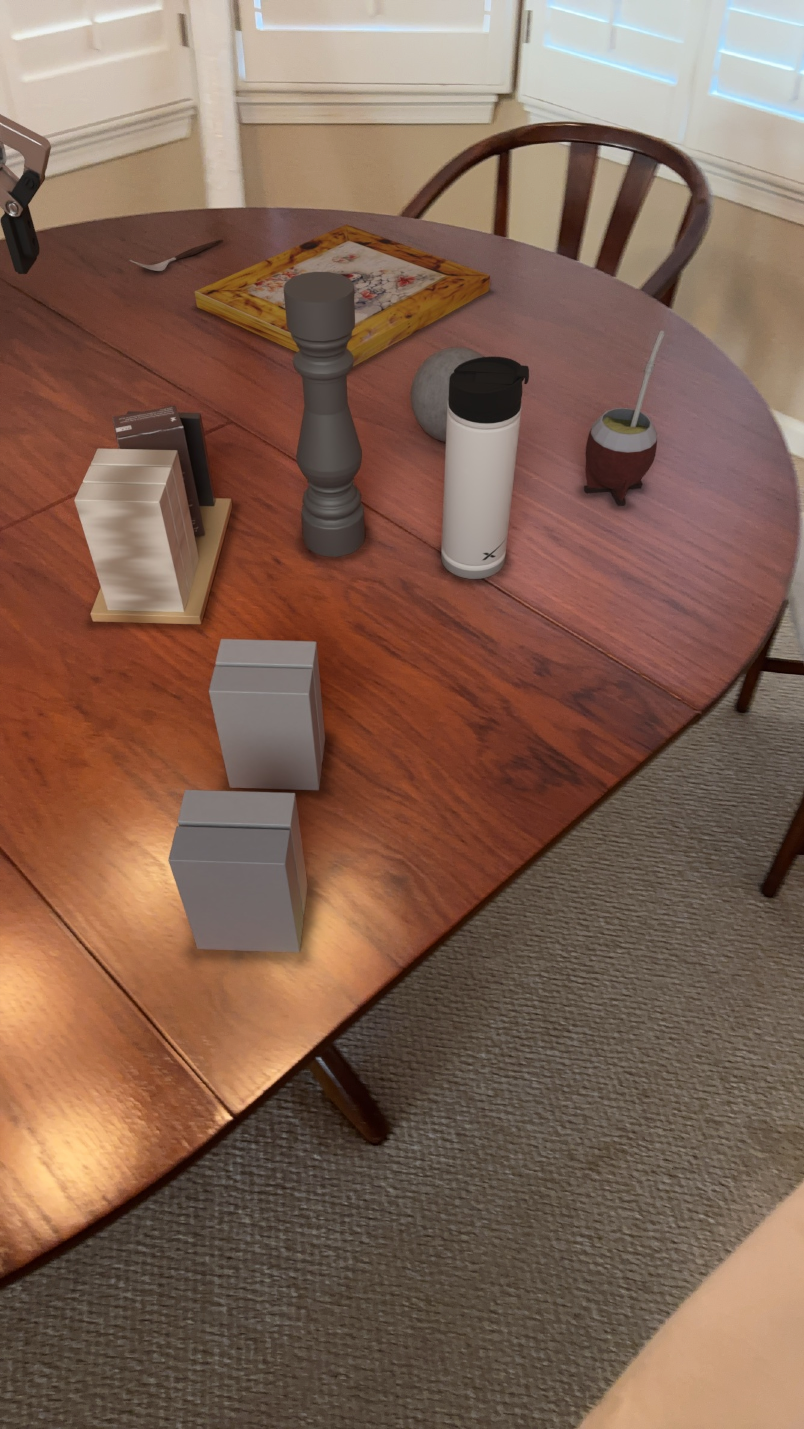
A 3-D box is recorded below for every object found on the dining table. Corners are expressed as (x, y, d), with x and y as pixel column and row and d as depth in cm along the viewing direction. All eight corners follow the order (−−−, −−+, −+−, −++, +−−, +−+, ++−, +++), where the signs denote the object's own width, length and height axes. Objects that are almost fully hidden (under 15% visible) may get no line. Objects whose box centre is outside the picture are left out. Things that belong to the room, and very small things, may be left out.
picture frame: (490, 275, 130) (341, 355, 115) (488, 290, 132) (342, 372, 116) (346, 224, 142) (194, 291, 126) (347, 239, 143) (197, 307, 128)
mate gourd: (590, 511, 97) (615, 375, 86) (569, 468, 103) (590, 335, 91) (659, 504, 98) (693, 369, 87) (635, 462, 103) (664, 329, 92)
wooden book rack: (92, 621, 86) (53, 503, 76) (136, 503, 98) (108, 388, 88) (201, 624, 86) (176, 506, 76) (232, 506, 98) (214, 390, 88)
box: (197, 511, 96) (176, 402, 87) (206, 537, 93) (185, 428, 84) (137, 522, 94) (110, 413, 85) (144, 549, 91) (116, 439, 82)
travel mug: (504, 584, 90) (526, 390, 75) (436, 576, 90) (443, 382, 75) (511, 544, 94) (532, 352, 79) (445, 536, 94) (454, 345, 80)
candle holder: (360, 515, 97) (351, 267, 78) (369, 553, 93) (362, 300, 74) (300, 521, 96) (277, 272, 77) (306, 560, 92) (283, 306, 73)
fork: (229, 245, 142) (227, 231, 140) (142, 279, 134) (139, 264, 132) (218, 240, 143) (216, 226, 141) (131, 273, 135) (128, 259, 134)
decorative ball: (395, 447, 105) (395, 363, 98) (431, 405, 111) (434, 322, 104) (477, 469, 102) (484, 384, 95) (511, 425, 108) (519, 341, 101)
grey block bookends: (197, 949, 64) (167, 860, 56) (239, 736, 77) (220, 638, 69) (299, 953, 64) (285, 864, 56) (325, 738, 77) (316, 640, 68)
